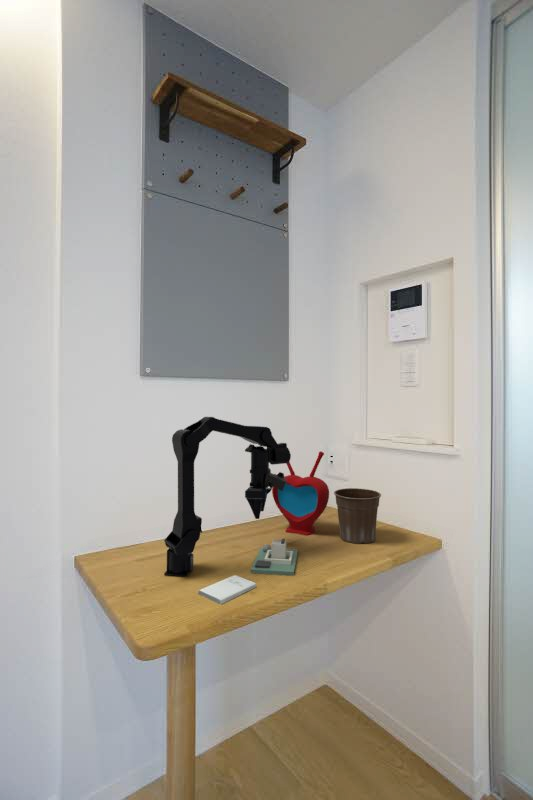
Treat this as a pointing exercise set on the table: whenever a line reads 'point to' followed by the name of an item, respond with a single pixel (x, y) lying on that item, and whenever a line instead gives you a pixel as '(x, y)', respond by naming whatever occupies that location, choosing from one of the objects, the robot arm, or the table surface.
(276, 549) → the plug
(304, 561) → the table surface
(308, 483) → the novelty television
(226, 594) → the external hard drive
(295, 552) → the board
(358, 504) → the plant pot
